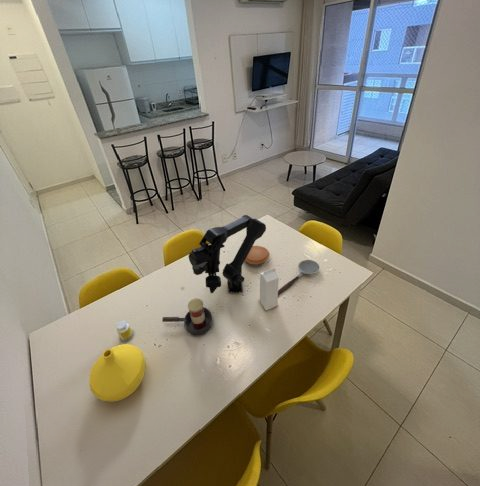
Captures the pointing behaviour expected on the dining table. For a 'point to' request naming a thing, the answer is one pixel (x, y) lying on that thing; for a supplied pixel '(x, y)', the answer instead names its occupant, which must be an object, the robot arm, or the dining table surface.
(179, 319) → the pan handle
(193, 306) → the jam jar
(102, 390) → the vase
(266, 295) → the milk
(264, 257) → the pie
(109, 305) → the dining table surface
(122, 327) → the supplement bottle
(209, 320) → the pan
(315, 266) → the spoon
